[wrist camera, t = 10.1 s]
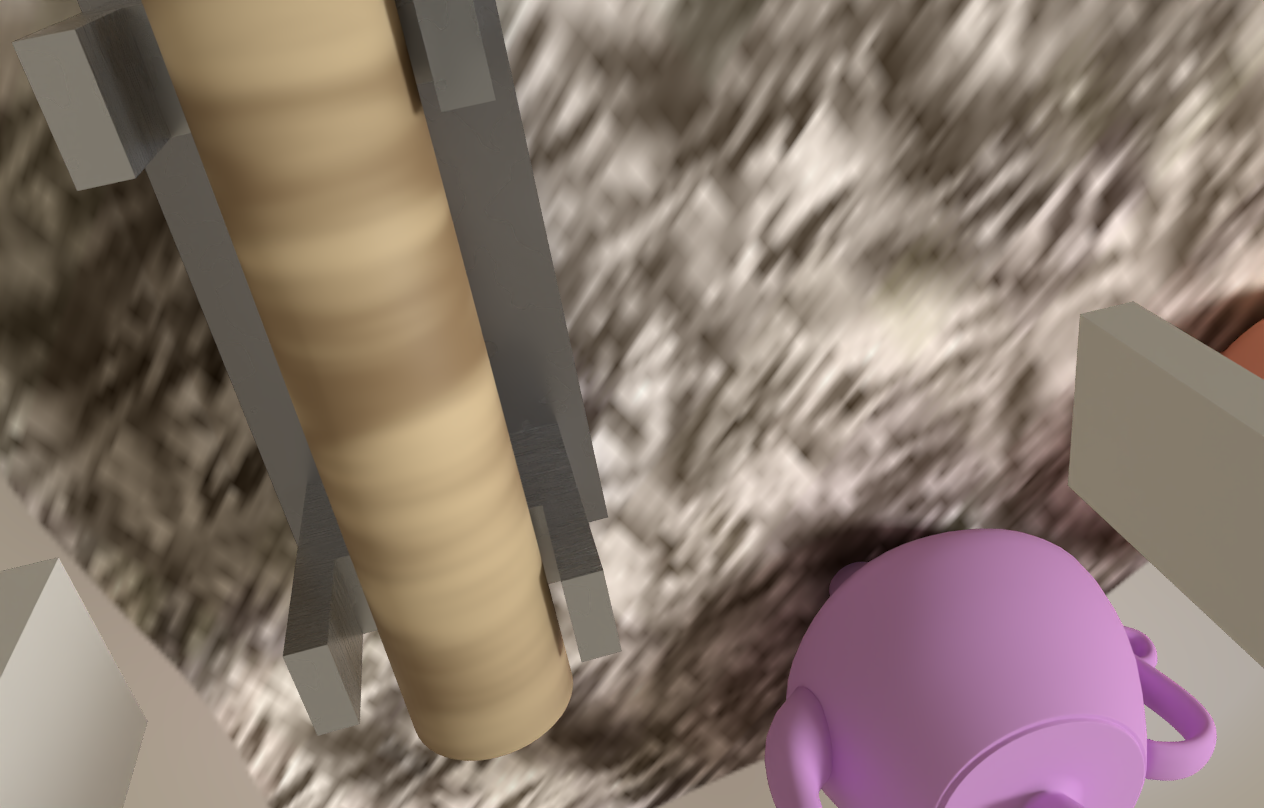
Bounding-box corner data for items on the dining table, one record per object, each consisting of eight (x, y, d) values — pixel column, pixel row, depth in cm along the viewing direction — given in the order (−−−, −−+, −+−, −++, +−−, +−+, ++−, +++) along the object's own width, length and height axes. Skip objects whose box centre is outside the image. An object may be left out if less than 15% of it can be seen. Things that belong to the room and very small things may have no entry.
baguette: (105, -55, 22) (140, -60, 18) (326, -98, 24) (401, -111, 20) (390, 691, 32) (451, 789, 29) (527, 618, 34) (602, 701, 31)
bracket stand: (65, -57, 28) (-84, -30, 19) (463, -133, 29) (495, -141, 20) (318, 577, 38) (297, 782, 30) (603, 503, 39) (664, 679, 31)
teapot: (681, 787, 47) (766, 1047, 37) (671, 533, 41) (770, 761, 30) (1074, 706, 51) (1255, 924, 40) (1123, 459, 44) (1356, 642, 33)
